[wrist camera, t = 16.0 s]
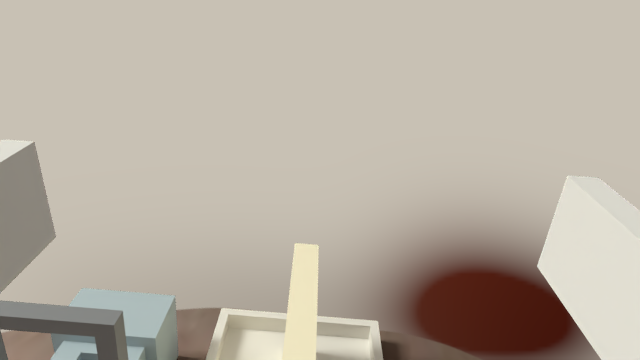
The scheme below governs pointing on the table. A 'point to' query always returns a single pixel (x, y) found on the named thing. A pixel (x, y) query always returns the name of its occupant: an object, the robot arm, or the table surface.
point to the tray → (269, 331)
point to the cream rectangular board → (302, 305)
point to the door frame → (100, 325)
